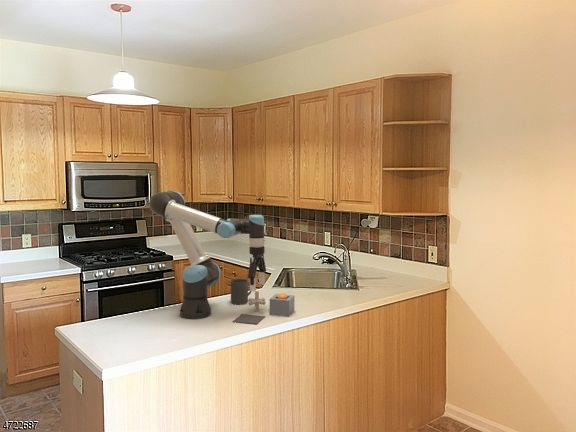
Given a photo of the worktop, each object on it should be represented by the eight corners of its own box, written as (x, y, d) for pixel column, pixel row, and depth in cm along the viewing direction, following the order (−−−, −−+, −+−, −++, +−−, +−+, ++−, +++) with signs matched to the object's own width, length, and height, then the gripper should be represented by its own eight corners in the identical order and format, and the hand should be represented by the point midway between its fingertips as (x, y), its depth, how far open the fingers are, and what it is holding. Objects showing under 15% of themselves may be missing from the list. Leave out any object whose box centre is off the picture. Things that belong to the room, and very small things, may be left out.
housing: (269, 314, 242) (269, 298, 241) (275, 309, 251) (275, 293, 250) (289, 316, 239) (289, 300, 238) (294, 310, 249) (294, 295, 248)
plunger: (275, 300, 243) (275, 295, 242) (278, 298, 248) (278, 293, 247) (285, 301, 241) (285, 296, 241) (288, 298, 246) (288, 293, 246)
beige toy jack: (256, 307, 255) (256, 288, 254) (270, 310, 248) (270, 291, 247) (242, 311, 247) (242, 292, 246) (257, 315, 241) (257, 295, 240)
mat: (232, 322, 230) (232, 321, 230) (241, 314, 241) (241, 313, 241) (256, 324, 227) (256, 323, 227) (264, 317, 238) (264, 316, 238)
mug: (237, 306, 257) (237, 283, 255) (227, 302, 263) (227, 280, 262) (257, 301, 266) (257, 279, 265) (247, 297, 273) (247, 276, 271)
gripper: (255, 250, 231) (256, 294, 233) (271, 242, 255) (272, 282, 257) (240, 249, 233) (241, 293, 235) (258, 242, 257) (258, 281, 259)
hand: (257, 288), depth 246 cm, fingers open, 13 cm apart
